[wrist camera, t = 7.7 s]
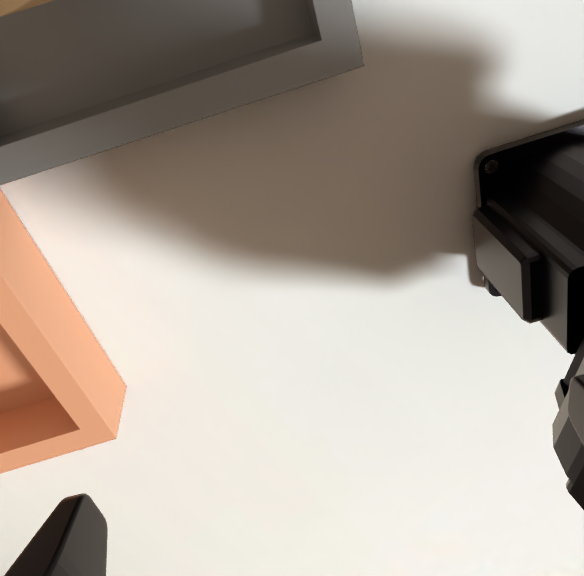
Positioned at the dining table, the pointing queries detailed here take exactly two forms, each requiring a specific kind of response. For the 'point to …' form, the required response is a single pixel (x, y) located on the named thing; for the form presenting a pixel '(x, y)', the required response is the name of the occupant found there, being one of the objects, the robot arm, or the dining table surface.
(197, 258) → the dining table surface
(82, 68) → the charcoal tray
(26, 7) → the maple peg
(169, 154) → the dining table surface
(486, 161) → the robot arm
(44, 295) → the terracotta dish
